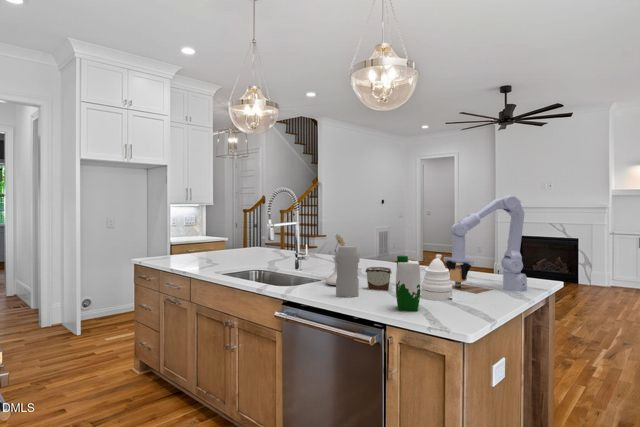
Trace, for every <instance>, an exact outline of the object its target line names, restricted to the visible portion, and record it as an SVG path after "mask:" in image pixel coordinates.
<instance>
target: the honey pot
mask: <svg viewBox="0 0 640 427" xmlns="http://www.w3.org/2000/svg"><path fill="white" fill-rule="evenodd" d="M442 256H443V255H442V254H435V258H434V259H432V261H431V262H429V263H430V264H429V265H428V267H426V268H425V269H424V271H425V274H424V277H423V279H422V282H421V286H420V298H422V299H425V300H430V301H437V300H440V302H442V301H444V300H445V301H452V299H453V298H452V297H453V289H452V286H453V284H452V281H451V280H450V274H449V270H448V268H447V267H446V265H445V264H444V261H442Z"/></svg>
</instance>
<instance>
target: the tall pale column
mask: <svg viewBox="0 0 640 427" xmlns="http://www.w3.org/2000/svg"><path fill="white" fill-rule="evenodd" d="M337 249H338V250H337V251H336V252H337V253H336V252H335V255H334V256H335V262H336V263H337V279H336V285H335V297H337V298H358V297H359V293H360V292H359V289H360V288H359V285H360V284H359V281H360V280H359V277H358V275H359V263H360V261H361V260H360V257H361V255H360V253H359V252H358V248H357V246H352V245H345V246H338V248H337ZM335 262H334V263H335Z"/></svg>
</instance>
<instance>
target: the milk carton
mask: <svg viewBox="0 0 640 427" xmlns="http://www.w3.org/2000/svg"><path fill="white" fill-rule="evenodd" d="M420 269H421V267H420V262H419V261H418V260H411V259H410V260H409V257H408V255H397V258H396V271H395V272H396V273H395V274H396V275H395V297H396V304H397V310H398V311H402V312H403V311H405V312H419V307H420V299H421V270H420Z"/></svg>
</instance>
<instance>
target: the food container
mask: <svg viewBox="0 0 640 427" xmlns="http://www.w3.org/2000/svg"><path fill="white" fill-rule="evenodd" d="M364 273H366V280H367V290H370V291H381V292H389V290H390V281H391V275H392V273H393V271H392V269H391V267H390V268H389V267H384V266H370V267H366V268H365V272H364Z"/></svg>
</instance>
